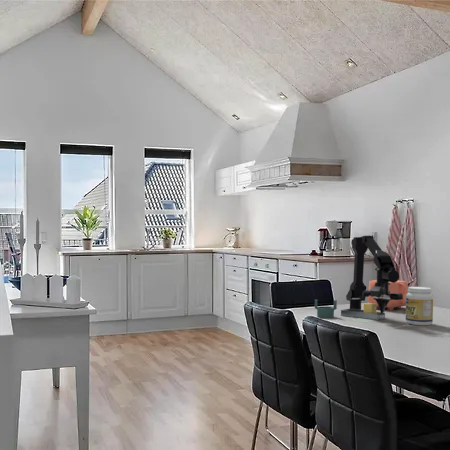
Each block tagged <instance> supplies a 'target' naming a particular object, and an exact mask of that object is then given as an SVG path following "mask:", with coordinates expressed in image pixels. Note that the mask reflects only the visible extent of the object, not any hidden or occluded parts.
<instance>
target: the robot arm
mask: <svg viewBox="0 0 450 450" xmlns="http://www.w3.org/2000/svg"><path fill="white" fill-rule="evenodd" d="M350 242H351V243H350V244H351V249H352V251H353V253H354V259H353V261H354V264H353V281H352V282H351V284H350V285H349V290H348V292H347V294H346V301H349V309H359V310H362V301H364V302H365V301H366V298H368V297H369V296H372V297H373V296H374V298H373V299H375V300H376V301H377V303H378V306H379V308H378V309H379V312H381V313H385V311H386V309H387V307H386V306H387V304H388V302H389V301H390V300H401V299H403V295H402V293H391V294H389V293H390V291H389V285H390V283H389V282H393V283H394V282H397V281H398V280H399V279H400V274H399V272H398V271H397V270H396V265H395V264H394V261H393V259H392V256H391V255H390V254H389V253H388V252H386V251H384V250H382V249H381V247H380V246H379V244H378V243H377V242H376V240H375V239H374V236H373V235H366V234H365V235H363V236H357V237H356V236H355V237H352V239H351V241H350ZM367 251H369V252H370V253H371V255H372V257H373V260H372V261H373V263H374V264H375V266H376V267H375V269H374V270H375V271H376V280H377V282H376V283H375V287H373V288H372V289H370V290H369V289H368V290H367V286H366V285H365V283H364V271H365V270H364V268H365V267H364V266H365V265H364V264H365V254H366V253H367ZM382 297H383V298H382Z"/></svg>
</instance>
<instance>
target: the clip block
mask: <svg viewBox="0 0 450 450" xmlns="http://www.w3.org/2000/svg"><path fill="white" fill-rule="evenodd" d="M376 306H377V304H374V303H368V302H365V303H363V310H364V313H372V314H376V312H377V308H376Z"/></svg>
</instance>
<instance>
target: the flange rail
mask: <svg viewBox="0 0 450 450" xmlns="http://www.w3.org/2000/svg"><path fill="white" fill-rule="evenodd" d="M340 316H343V317H349V318H361V319H369V320H374V321H379V320H384V319H386V312H383V313H381V312H380V311H376V314H372V313H364V309H361V310H359V309H350V308H346V309H340Z"/></svg>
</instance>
